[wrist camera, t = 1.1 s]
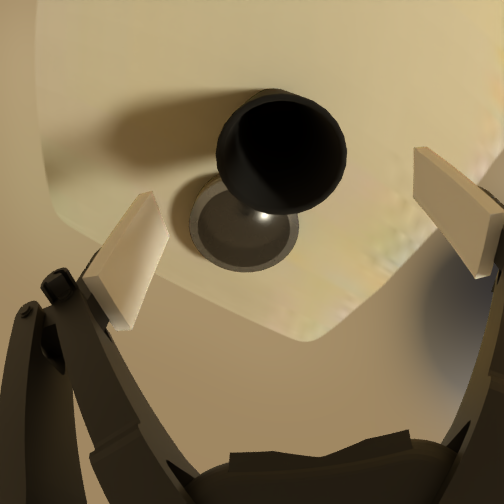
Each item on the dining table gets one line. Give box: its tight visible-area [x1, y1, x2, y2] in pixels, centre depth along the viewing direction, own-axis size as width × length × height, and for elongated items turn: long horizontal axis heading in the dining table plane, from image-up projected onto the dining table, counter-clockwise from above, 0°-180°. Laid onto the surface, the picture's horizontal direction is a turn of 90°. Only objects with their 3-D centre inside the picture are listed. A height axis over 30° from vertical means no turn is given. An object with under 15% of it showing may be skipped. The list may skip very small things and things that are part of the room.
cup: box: [216, 89, 347, 215], centre depth 23 cm, size 8×8×12 cm
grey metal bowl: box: [189, 174, 299, 272], centre depth 33 cm, size 11×11×3 cm
